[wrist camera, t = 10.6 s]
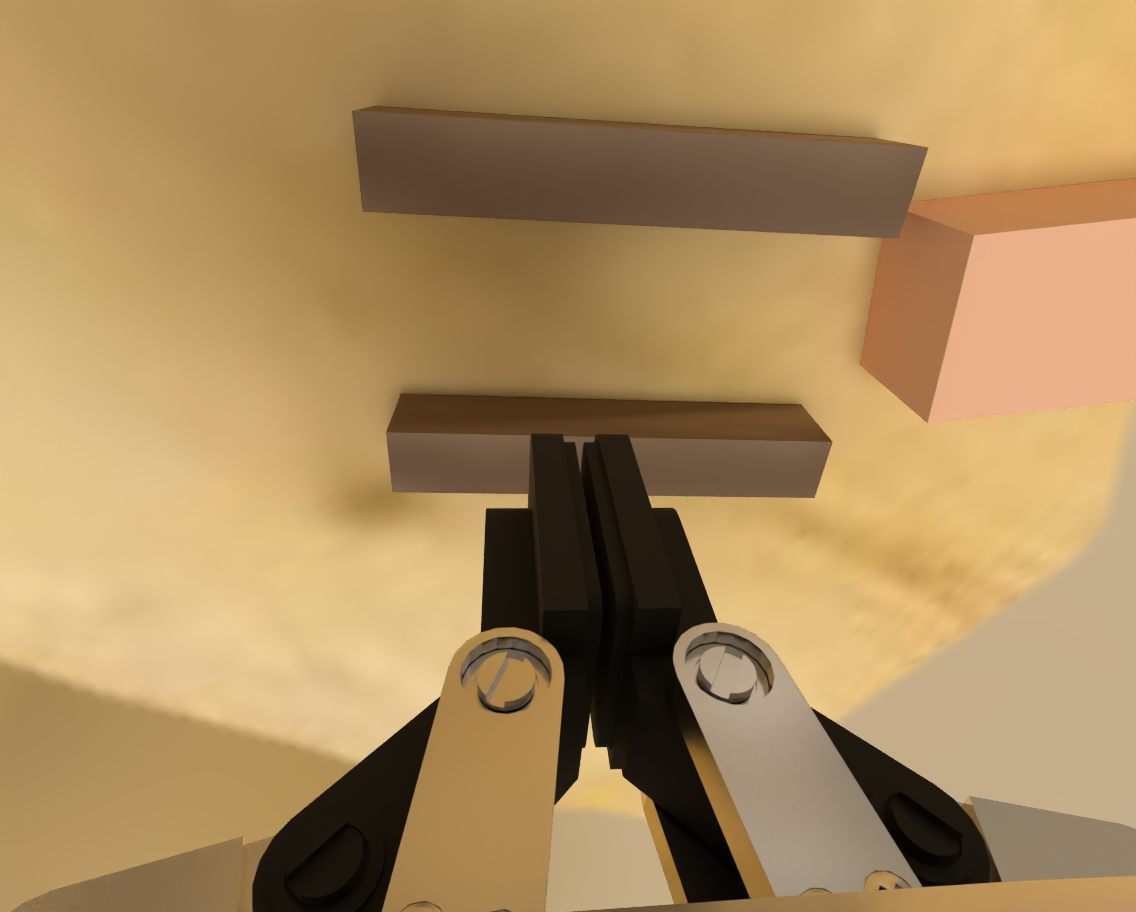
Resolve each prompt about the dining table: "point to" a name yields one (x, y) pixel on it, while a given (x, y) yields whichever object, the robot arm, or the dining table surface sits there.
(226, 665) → the dining table surface
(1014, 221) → the block
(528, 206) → the chute
